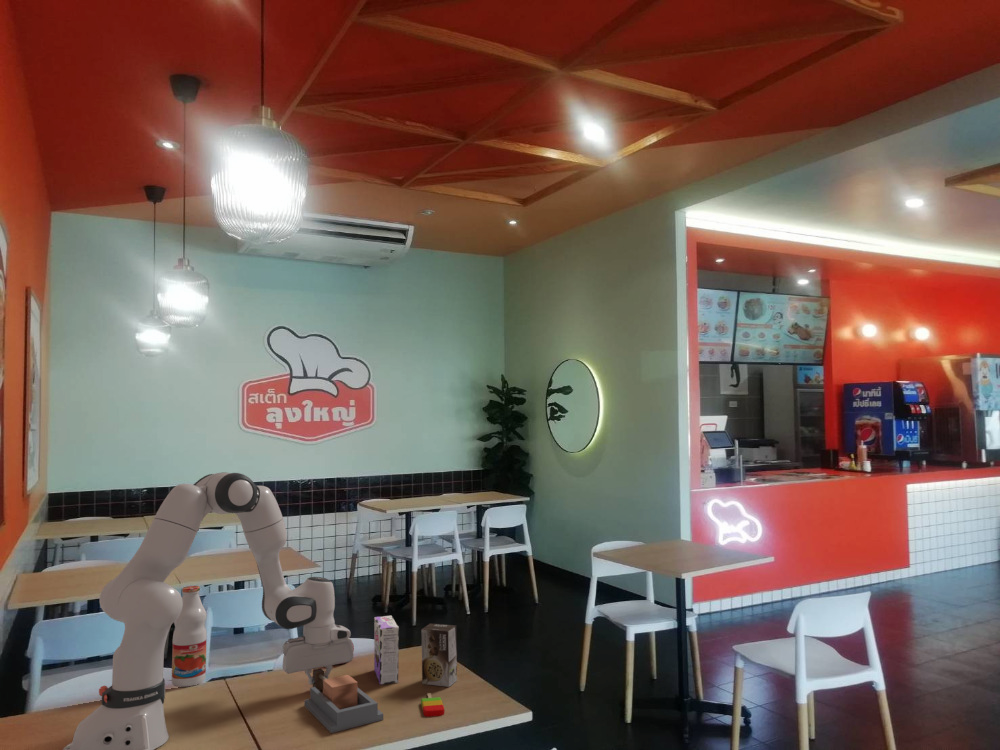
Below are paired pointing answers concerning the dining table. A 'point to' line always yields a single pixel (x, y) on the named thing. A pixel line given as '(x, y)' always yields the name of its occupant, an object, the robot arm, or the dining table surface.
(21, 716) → the dining table surface
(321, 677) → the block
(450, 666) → the coffee box
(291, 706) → the dining table surface
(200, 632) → the fruit juice
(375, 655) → the candy box
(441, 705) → the popsicle
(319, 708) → the shelf lane
